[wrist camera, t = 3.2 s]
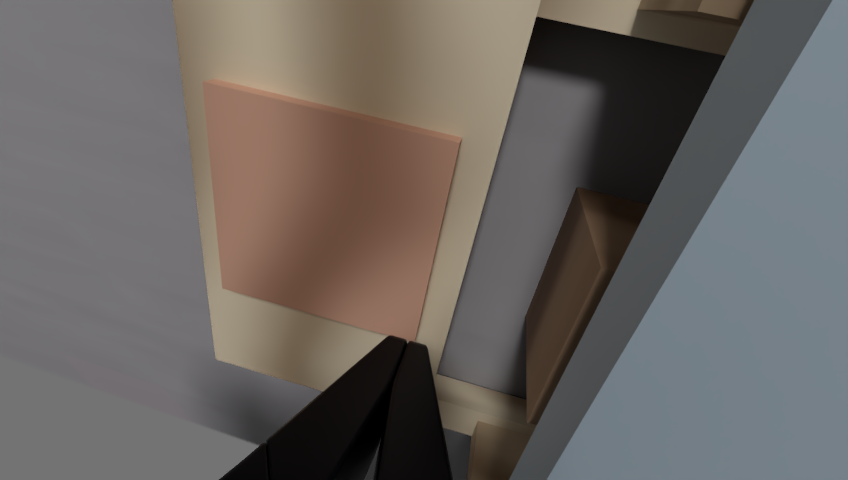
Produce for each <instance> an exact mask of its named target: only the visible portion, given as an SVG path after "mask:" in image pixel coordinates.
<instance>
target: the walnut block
mask: <svg viewBox="0 0 848 480" xmlns="http://www.w3.org/2000/svg"><path fill="white" fill-rule="evenodd" d="M648 207H649V204H645V203H641V202H637V201H633V200H629V199H624V198H620V197H616V196H612V195H608V194H603V193H599V192H595V191H591V190H587V189H583V188H578V187H577V188H576V190H575V193H574V195H573V198H572V200H571V203H570V205H569V208H568V211H567V213H566V216H565V218H564V221H563V223H562V226H561V228H560V231H559V233H558V236H557V238H556V241H555V243H554V246H553V248H552V251H551V253H550V256H549V258H548V261H547V263H546V266H545V269H544V271H543V274H542V276H541V279H540V281H539V284H538V286H537V289H536V291H535V294H534V296H533V299H532V301H531V304H530V306H529V309H528V311H527V314H526V387H527V422H528V423H531V424H534V425H537V424H538V422H539V420H540V418H541V416H542V414H543V412H544V410H545V408H546V406H547V404H548V403H549V401H550V399H551V397H552V395H553V393H554V391H555V389H556V387H557V385H558V383H559V381H560V379H561V377H562V375H563V373H564V371H565V369H566V367H567V365H568V363H569V361H570V359H571V358H572V356H573V354H574V352H575V350H576V348H577V346H578V344H579V342H580V340H581V338H582V336H583V334H584V332H585V330H586V328H587V326H588V324H589V322H590V320H591V318H592V316H593V315H594V313H595V311H596V309H597V307H598V305H599V303H600V301H601V299H602V297H603V295H604V293H605V291H606V289H607V287H608V285H609V283H610V281H611V279H612V277H613V275H614V273H615V272H616V270H617V268H618V266H619V264H620V262H621V260H622V258H623V256H624V254H625V252H626V250H627V248H628V246H629V244H630V242H631V240H632V238H633V236H634V234H635V232H636V230H637V228H638V227H639V225H640V223H641V221H642V219H643V217H644V215H645V213H646V211H647V209H648Z"/></svg>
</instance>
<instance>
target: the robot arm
mask: <svg viewBox="0 0 848 480" xmlns="http://www.w3.org/2000/svg"><path fill="white" fill-rule="evenodd" d="M380 440H381V441H380ZM379 443H380V446H379V451H378V456H377V462H376V467H375V473H374V479H373V480H453V478H452V473H451V468H450V462H449V457H448V452H447V446H446V441H445V436H444V431H443V425H442V420H441V415H440V410H439V404H438V399H437V394H436V389H435V383H434V378H433V373H432V368H431V362H430V357H429V352H428V348H427V346H426V345H425V344H421V343H418V342H414V341H409V342H408V343H407V340H406V339H404V338H400V337H397V336H393V335H389V336H387V337H386V338H385V339H384V340H382V341H381V342H380V343H379V344H378V345H377V346H375V347H374V348H373V349H372V350H371V351H370V352H368V353H367V354H366V355H365V356H364V357H363V358H361V359H360V360H359V361H358V362H357V363H356V364H354V365H353V366H352V367H351V368H350V369H349V370H348V371H346V372H345V373H344V374H343V375H342V376H341V377H339V378H338V379H337V380H336V381H335V382H334V383H332V384H331V385H330V386H329V387H328V388H327V389H325V390H324V391H323V392H322V393H321V394H320V395H318V396H317V397H316V398H315V399H314V400H313V401H311V402H310V403H309V404H308V405H307V406H306V407H304V408H303V409H302V410H301V411H300V412H299V413H298V414H296V415H295V416H294V417H293V418H292V419H291V420H289V421H288V422H287V423H286V424H285V425H284V426H282V427H281V428H280V429H279V430H278V431H277V432H275V433H274V434H273V435H272V436H271V437H270V438H268V439H267V441H266V443H262V444H261V445H260V446H259V447H258V448H257V449H255V450H254V451H253V452H252V453H251V454H250V455H248V456H247V457H246V458H245V459H244V460H242V461H241V462H240V463H239V464H238V465H236V466H235V467H234V468H233V469H232V470H230V471H229V472H228V473H227V474H225V475H224V476H223V477H222V478H221V479H219V480H364V478H365V476H366V474H367V471H368V469H369V467H370V464H371V462H372V460H373V458H374V455H375V453H376V450H377V448H378V445H379Z"/></svg>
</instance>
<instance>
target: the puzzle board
mask: <svg viewBox="0 0 848 480" xmlns="http://www.w3.org/2000/svg"><path fill="white" fill-rule="evenodd" d="M172 2H173V10H174V18H175V26H176V35H177V43H178V51H179V60H180V68H181V76H182V84H183V93H184V101H185V109H186V117H187V126H188V134H189V142H190V151H191V159H192V167H193V175H194V184H195V192H196V200H197V209H198V217H199V225H200V233H201V242H202V250H203V258H204V266H205V275H206V283H207V291H208V300H209V308H210V316H211V324H212V333H213V341H214V349H215V358H216V359H217V360H220V361H223V362H227V363H230V364H233V365H237V366H240V367H243V368H247V369H250V370H253V371H256V372H260V373H263V374H266V375H270V376H273V377H276V378H280V379H283V380H286V381H290V382H293V383H296V384H300V385H303V386H306V387H310V388H313V389H316V390H320V391H324V390H325V389H327V388H328V387H329V386H330V385H331V384H332V383H334V382H335V381H336V380H337V379H338V378H339V377H341V376H342V375H343V374H344V373H345V372H346V371H348V370H349V369H350V368H351V367H352V366H353V365H354V364H356V363H357V362H358V361H359V360H360V359H361V358H363V357H364V356H365V355H366V354H367V353H368V352H370V351H371V350H372V349H373V348H374V347H375V346H377V345H378V344H379V343H380V342H381V341H382V340H384V339H385V338H386V337H387V336H389V335H393V336H397V337H400V338H404V339H406V340H407V343H408V342H409V341H414V342H418V343H421V344H425V345H426V346H427V348H428V352H429V357H430V362H431V368H432V373H433V378H434V383H435V389H436V394H437V399H438V404H439V410H440V415H441V420H442V425H443V428H446V429H449V430H453V431H456V432H459V433H463V434H466V435H469V436H472V439H471V447H470V456H469V464H468V473H467V480H509V479H510V477H511V475H512V473H513V471H514V469H515V467H516V465H517V463H518V461H519V459H520V457H521V455H522V453H523V451H524V449H525V447H526V446H527V444H528V442H529V440H530V438H531V436H532V434H533V432H534V430H535V428H536V426H537V425H534V424H531V423H528V422H527V400H525V399H522V398H518V397H515V396H511V395H508V394H504V393H501V392H497V391H494V390H491V389H487V388H484V387H480V386H477V385H473V384H470V383H466V382H463V381H459V380H456V379H453V378H449V377H446V376H442V375H439V374H436V373H437V370H438V366H439V363H440V359H441V356H442V352H443V348H444V345H445V341H446V338H447V334H448V331H449V327H450V323H451V320H452V316H453V313H454V309H455V306H456V302H457V298H458V295H459V291H460V288H461V284H462V280H463V277H464V273H465V270H466V266H467V263H468V259H469V255H470V252H471V248H472V245H473V241H474V238H475V234H476V230H477V227H478V223H479V220H480V216H481V213H482V209H483V205H484V202H485V198H486V195H487V191H488V187H489V184H490V180H491V177H492V173H493V170H494V166H495V162H496V159H497V155H498V152H499V148H500V145H501V141H502V137H503V134H504V130H505V127H506V123H507V120H508V116H509V112H510V109H511V105H512V102H513V98H514V94H515V91H516V87H517V84H518V80H519V77H520V73H521V69H522V66H523V62H524V59H525V55H526V52H527V48H528V44H529V41H530V37H531V34H532V30H533V27H534V23H535V19H536V17H541V18H546V19H551V20H556V21H560V22H565V23H570V24H575V25H580V26H584V27H589V28H594V29H599V30H604V31H608V32H613V33H618V34H623V35H628V36H633V37H637V38H642V39H647V40H652V41H657V42H661V43H666V44H671V45H676V46H681V47H685V48H690V49H695V50H700V51H705V52H709V53H714V54H719V55H724V56H726V54H727V53H728V51H729V49H730V47H731V45H732V43H733V41H734V39H735V37H736V35H737V33H738V31H739V29H740V27H741V25H742V23H743V21H744V19H745V17H746V15H747V13H748V11H749V9H750V8H751V6H752V4H753V2H754V0H172Z"/></svg>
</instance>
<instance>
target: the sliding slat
mask: <svg viewBox="0 0 848 480" xmlns="http://www.w3.org/2000/svg"><path fill="white" fill-rule="evenodd" d="M509 480H848V0H754V2H753V4H752V6H751V8H750V9H749V11H748V13H747V15H746V17H745V19H744V21H743V23H742V25H741V27H740V29H739V31H738V33H737V35H736V37H735V39H734V41H733V43H732V45H731V47H730V49H729V51H728V53H727V54H726V56H725V58H724V60H723V62H722V64H721V66H720V68H719V70H718V72H717V74H716V76H715V78H714V80H713V82H712V84H711V86H710V88H709V90H708V92H707V94H706V96H705V97H704V99H703V101H702V103H701V105H700V107H699V109H698V111H697V113H696V115H695V117H694V119H693V121H692V123H691V125H690V127H689V129H688V131H687V133H686V135H685V137H684V139H683V140H682V142H681V144H680V146H679V148H678V150H677V152H676V154H675V156H674V158H673V160H672V162H671V164H670V166H669V168H668V170H667V172H666V174H665V176H664V178H663V180H662V182H661V184H660V185H659V187H658V189H657V191H656V193H655V195H654V197H653V199H652V201H651V203H650V205H649V207H648V209H647V211H646V213H645V215H644V217H643V219H642V221H641V223H640V225H639V227H638V228H637V230H636V232H635V234H634V236H633V238H632V240H631V242H630V244H629V246H628V248H627V250H626V252H625V254H624V256H623V258H622V260H621V262H620V264H619V266H618V268H617V270H616V272H615V273H614V275H613V277H612V279H611V281H610V283H609V285H608V287H607V289H606V291H605V293H604V295H603V297H602V299H601V301H600V303H599V305H598V307H597V309H596V311H595V313H594V315H593V316H592V318H591V320H590V322H589V324H588V326H587V328H586V330H585V332H584V334H583V336H582V338H581V340H580V342H579V344H578V346H577V348H576V350H575V352H574V354H573V356H572V358H571V359H570V361H569V363H568V365H567V367H566V369H565V371H564V373H563V375H562V377H561V379H560V381H559V383H558V385H557V387H556V389H555V391H554V393H553V395H552V397H551V399H550V401H549V403H548V404H547V406H546V408H545V410H544V412H543V414H542V416H541V418H540V420H539V422H538V424H537V426H536V428H535V430H534V432H533V434H532V436H531V438H530V440H529V442H528V444H527V446H526V447H525V449H524V451H523V453H522V455H521V457H520V459H519V461H518V463H517V465H516V467H515V469H514V471H513V473H512V475H511V477H510V479H509Z"/></svg>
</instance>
